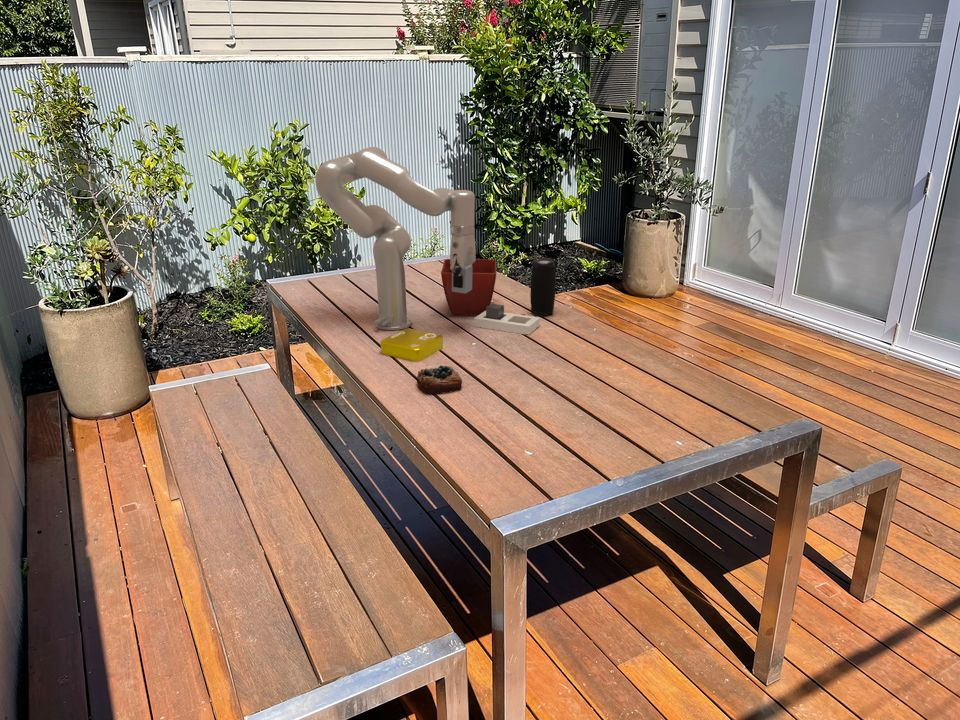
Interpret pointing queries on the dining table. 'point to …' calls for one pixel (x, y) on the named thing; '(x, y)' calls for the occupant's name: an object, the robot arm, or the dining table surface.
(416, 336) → the element tile
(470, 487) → the dining table surface
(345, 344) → the dining table surface
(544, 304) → the portable speaker
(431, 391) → the pastry
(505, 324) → the power strip
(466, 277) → the plug
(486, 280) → the plant pot
